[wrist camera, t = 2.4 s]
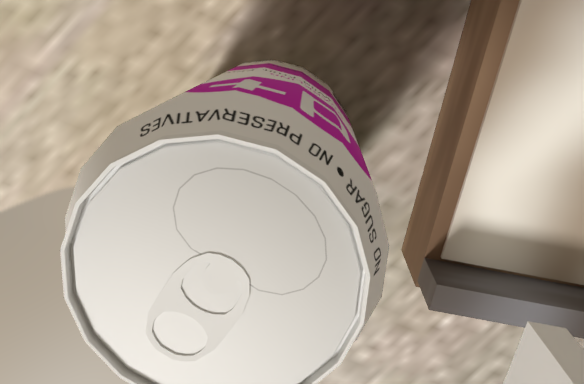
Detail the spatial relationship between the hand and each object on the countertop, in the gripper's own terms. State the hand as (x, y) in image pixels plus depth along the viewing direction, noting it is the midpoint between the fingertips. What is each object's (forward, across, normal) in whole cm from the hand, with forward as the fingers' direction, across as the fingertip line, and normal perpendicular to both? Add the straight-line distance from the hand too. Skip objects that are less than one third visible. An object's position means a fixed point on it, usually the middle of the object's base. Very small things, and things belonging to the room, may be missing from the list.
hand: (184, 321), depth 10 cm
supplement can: (+17, 0, 0) cm, 17 cm away
